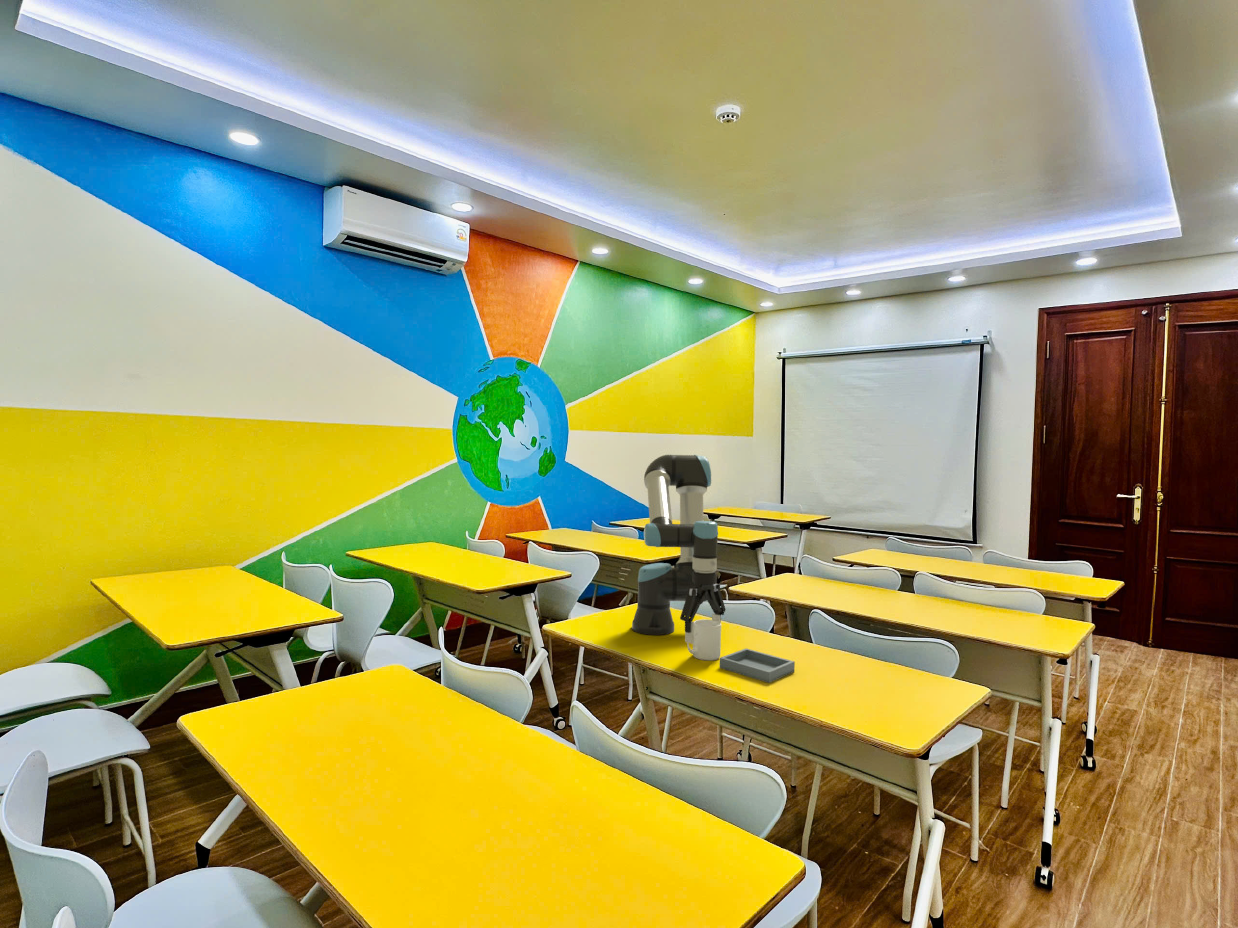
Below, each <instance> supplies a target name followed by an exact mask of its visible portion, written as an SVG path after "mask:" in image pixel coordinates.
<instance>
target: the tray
mask: <svg viewBox="0 0 1238 928" xmlns="http://www.w3.org/2000/svg"><path fill="white" fill-rule="evenodd" d="M795 663H796V662H795V661H794V660H790V659H786V658H783V657H779V656H775V655H772V654H768V653H764V652H761V651H758V650H754V649H749V648H743V649H740V650H738V651H735V652H732V653H729V654H727V655H723V656H720V657H719V668H720V669H722V670H725V671H729V672H731V673H735V674H738V675H743V676H745V677H748V678H752V679H755V680H759V681H761V682H765V683H768V684H770V683H772V682H774V681H777V680H779V679H781V678H783V677H785V676H787V675H790V674H792V673H794V672H795V668H796V667H795V665H796V664H795Z"/></svg>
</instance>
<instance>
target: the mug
mask: <svg viewBox="0 0 1238 928" xmlns="http://www.w3.org/2000/svg"><path fill="white" fill-rule="evenodd" d="M693 622H694V643H693V644H692V649H691V647H690V643H687V642H686V644H687V651H688V652H689V653H690V654H691V655H692V656H693V657H694V658H695V659H697V660H701V661H710V662H711V661H716V660H718V659H720V658H721V647H722V645H721V644H722V643H721V641H722V639H721V638H722V622H721V623H720V622H718V621H715V620H712V619H704V618H703V619H697V620H695V621H693Z"/></svg>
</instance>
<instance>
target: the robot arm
mask: <svg viewBox="0 0 1238 928" xmlns="http://www.w3.org/2000/svg"><path fill="white" fill-rule="evenodd" d="M643 478H644V479H643V481H644V486H645V488H646V489H647V496H648V497H647V501H648V514H649V523H646V524H645V525H644V544H645V545H646V546H647V547H654V548H680V557H679V558H680V559H679V560H678V561H677V562H676V563H675V566H676V567H672V565H671V564H670V563H667V562H666V563H664V562H655V563H650V564H645V565H642V566H641V567H640V568H639V570H638V577H637V584H638V585H637V607H636V611H635V613H634V616H633V619H632V624H631V629H632V630H633V631H634V632H635V633H639V634H643V635H651V636H661V635H664V636H665V635H669V634H671V633H673V632H675V622H674V620H673V615H672V611H671V602H684V604H683V608H682V611H681V615H680V617H679V620H680V621H683V622H684V635H685V636H684V642H685V643H686V644H687V643H689V644H691V645H693V643H694V621H693V620H694V619H695V616H696V614H697V613H698V610H699V608H700V606H701V605H702V604H703V603H704V602H707V603H708V605H709V607H711V608H710V609H711V610H712V612H713V613H712V614H711V620H715V621H718V622H720V623H721V624H722V622H721V621H722V616H724V615H725V612H726V606H725V603H724V600H723V595H722V592H721V584H720V583H719V584H718V583H717V582H718V581H717V579H718V578H717V575H718V574H717V572H716V571H717V570H718V569H717V568H718V567H717V566H718V565H717V564H718V563H717V561H718V560H717V559H718V541H719V540H718V539H719V538H718V537H719V531H718V530H719V529H718V523H717V522H716V521H712V520H711V521H710V520H704V495H705V493H707V492H708V488H709V487H710V486H711V485H712V469H711V465H710V462H709V459H708V458H707V456H705V455H696V454H693V455H691V454H689V455H688V454H685V455H684V454H665V455H661V456H659V457H656V458H655V459H654V460H653V461H652V462H651V463H650V464H648V466H647V468H646V470H645V473H644V477H643ZM670 486H671V487H675V492H677V494H679V506H680V507H679V519H680V520H679V521H680V523H673V516H672V515H673V514H672V508H671V506H672V505H671V497H670V490H669V489H670Z"/></svg>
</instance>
